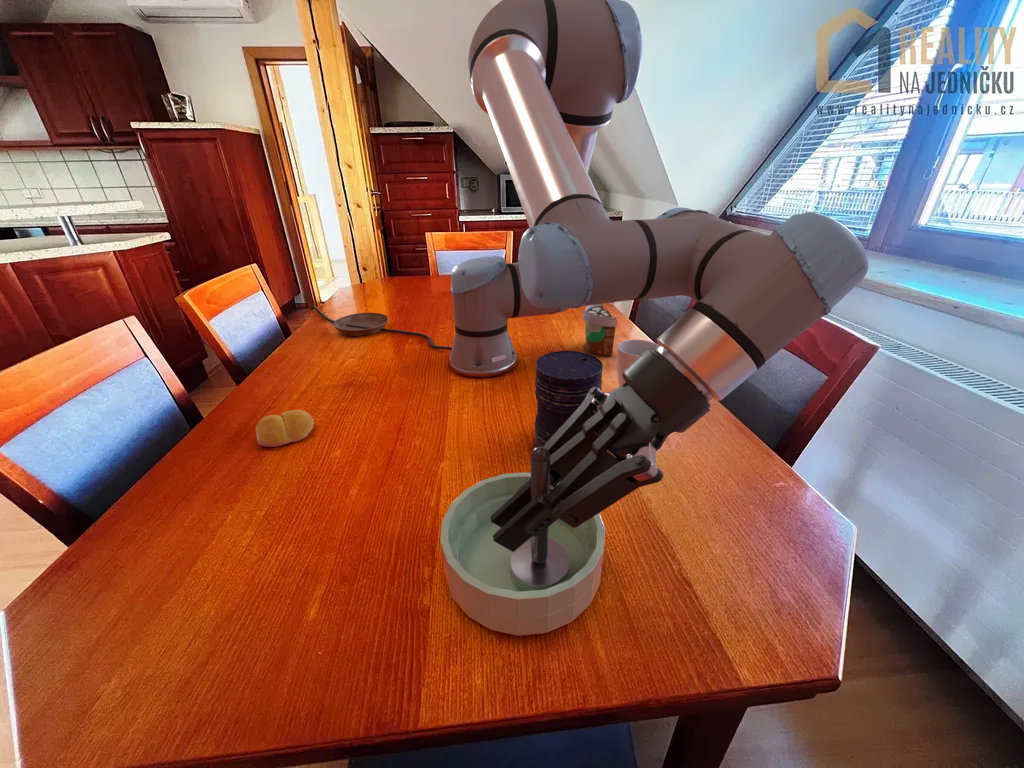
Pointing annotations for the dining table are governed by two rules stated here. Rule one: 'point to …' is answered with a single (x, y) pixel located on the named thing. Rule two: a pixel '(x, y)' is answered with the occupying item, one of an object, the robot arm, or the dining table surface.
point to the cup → (630, 354)
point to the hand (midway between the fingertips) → (501, 533)
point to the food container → (599, 330)
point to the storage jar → (562, 389)
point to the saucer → (361, 323)
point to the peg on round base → (539, 540)
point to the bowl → (486, 564)
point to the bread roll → (283, 428)
